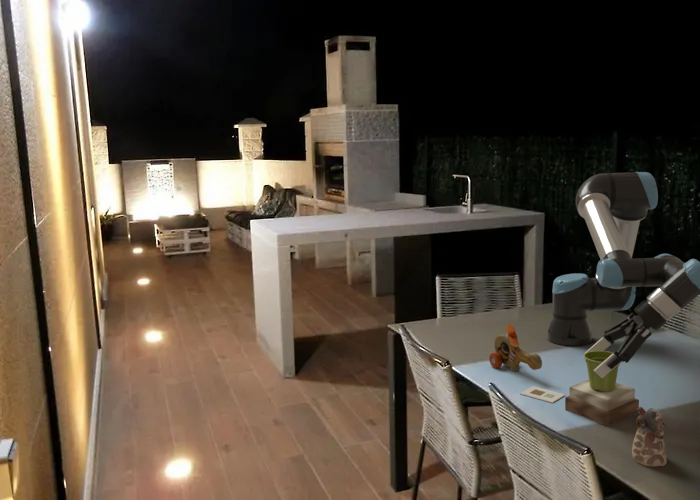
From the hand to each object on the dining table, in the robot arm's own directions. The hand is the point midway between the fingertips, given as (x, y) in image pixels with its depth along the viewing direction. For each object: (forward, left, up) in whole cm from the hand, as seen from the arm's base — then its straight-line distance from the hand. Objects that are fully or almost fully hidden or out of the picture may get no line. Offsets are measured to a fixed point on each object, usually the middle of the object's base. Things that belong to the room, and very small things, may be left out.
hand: (593, 365), depth 168 cm
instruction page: (-15, -1, -13) cm, 20 cm away
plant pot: (+2, +2, -6) cm, 7 cm away
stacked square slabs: (+2, +2, -13) cm, 13 cm away
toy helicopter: (-33, +7, -13) cm, 36 cm away
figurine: (+24, -12, -13) cm, 30 cm away
